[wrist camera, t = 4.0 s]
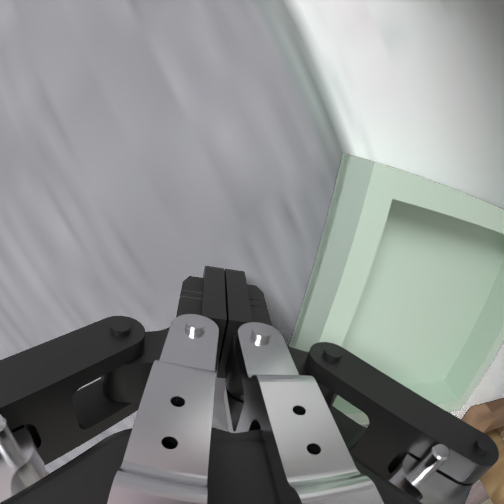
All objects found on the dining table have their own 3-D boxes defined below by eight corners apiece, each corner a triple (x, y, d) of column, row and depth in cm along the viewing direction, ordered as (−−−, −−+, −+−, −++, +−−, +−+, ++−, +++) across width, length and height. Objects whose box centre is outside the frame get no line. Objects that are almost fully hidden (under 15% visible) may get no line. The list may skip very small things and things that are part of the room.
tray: (343, 152, 12) (374, 161, 9) (516, 215, 14) (549, 232, 11) (274, 388, 16) (283, 428, 14) (441, 382, 18) (460, 409, 16)
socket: (471, 406, 20) (482, 421, 19) (519, 393, 22) (529, 404, 20) (421, 466, 24) (428, 481, 22) (475, 449, 25) (482, 461, 23)
